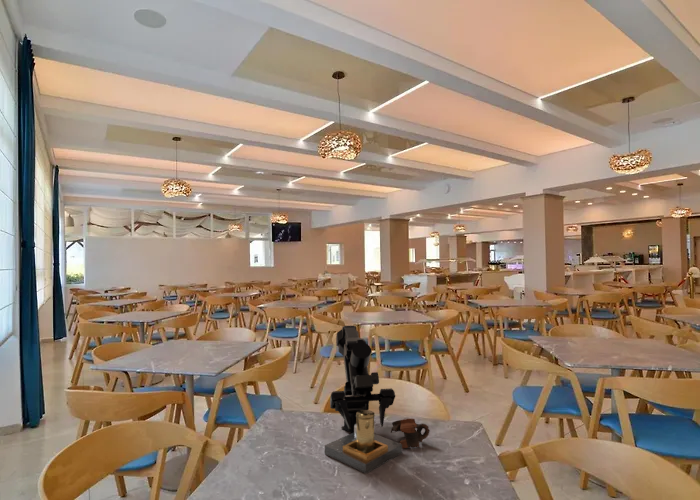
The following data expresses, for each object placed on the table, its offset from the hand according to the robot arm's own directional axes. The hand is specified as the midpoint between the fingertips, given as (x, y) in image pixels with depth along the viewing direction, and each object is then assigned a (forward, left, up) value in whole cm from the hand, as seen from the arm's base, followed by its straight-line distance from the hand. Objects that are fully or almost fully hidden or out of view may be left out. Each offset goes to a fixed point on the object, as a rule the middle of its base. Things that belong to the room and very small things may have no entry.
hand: (366, 427), depth 114 cm
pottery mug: (-19, +1, -10) cm, 21 cm away
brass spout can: (0, 0, -10) cm, 10 cm away
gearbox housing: (-3, -4, -10) cm, 11 cm away
